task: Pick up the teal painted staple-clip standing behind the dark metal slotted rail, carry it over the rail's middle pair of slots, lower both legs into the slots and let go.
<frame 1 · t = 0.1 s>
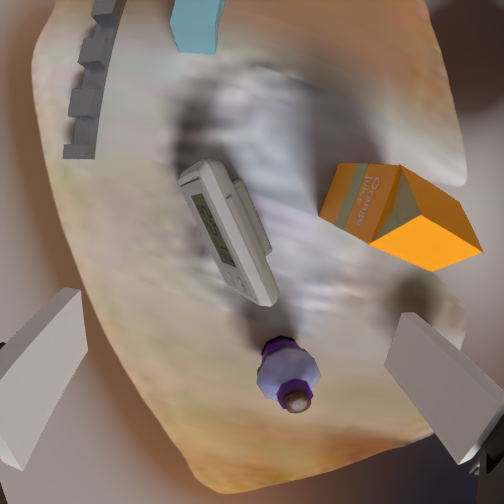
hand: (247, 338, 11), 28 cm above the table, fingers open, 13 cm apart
orange juice: (355, 201, 39), on the table
clip: (203, 24, 31), on the table
potion bottle: (279, 350, 44), on the table
digital clock: (223, 223, 39), on the table
rail: (100, 57, 30), on the table
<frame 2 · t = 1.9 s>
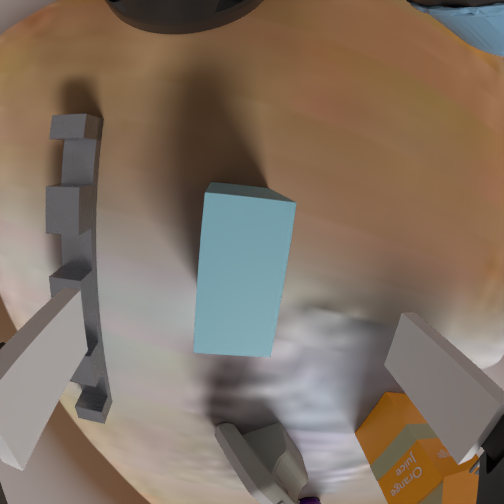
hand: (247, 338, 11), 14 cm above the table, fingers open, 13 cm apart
orange juice: (393, 413, 33), on the table
clip: (233, 241, 25), on the table
potion bottle: (304, 502, 39), on the table
digital clock: (260, 449, 33), on the table
rail: (82, 283, 24), on the table
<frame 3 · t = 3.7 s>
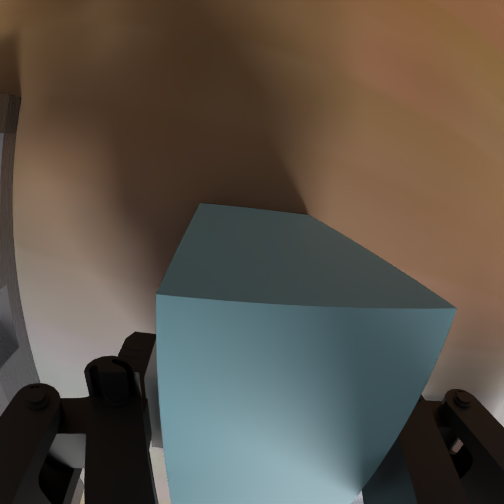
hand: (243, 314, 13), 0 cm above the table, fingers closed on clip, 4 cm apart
clip: (243, 310, 14), on the table, touching gripper
rail: (15, 357, 13), on the table
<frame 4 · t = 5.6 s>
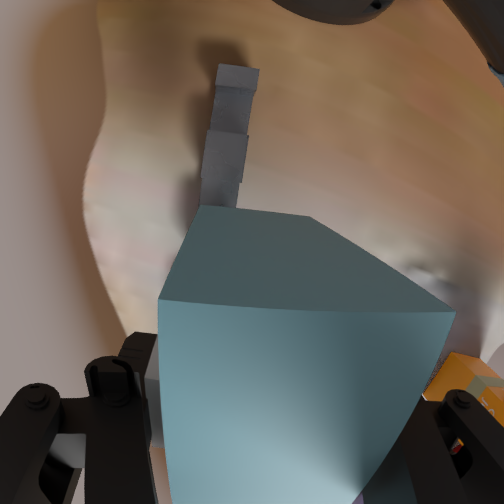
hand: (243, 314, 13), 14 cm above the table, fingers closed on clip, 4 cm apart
orange juice: (452, 375, 36), on the table
clip: (243, 311, 14), point 14 cm above the table, touching gripper
rail: (213, 238, 27), on the table
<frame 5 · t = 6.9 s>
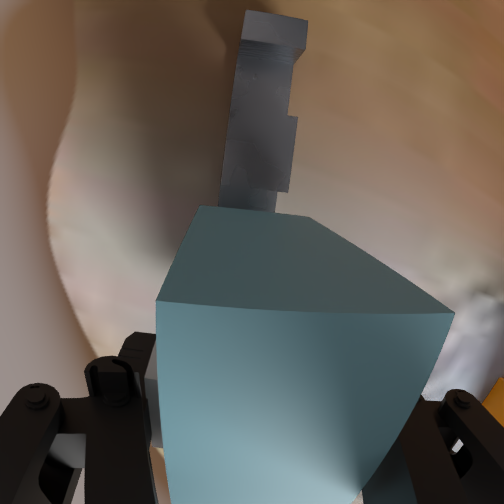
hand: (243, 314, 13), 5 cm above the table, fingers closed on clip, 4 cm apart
orange juice: (496, 400, 27), on the table
clip: (242, 311, 14), point 5 cm above the table, touching gripper
rail: (237, 274, 18), on the table
when the fingers open (2 cm above the table, at t = 7.7 s): clip stays where it is, resting on rail.
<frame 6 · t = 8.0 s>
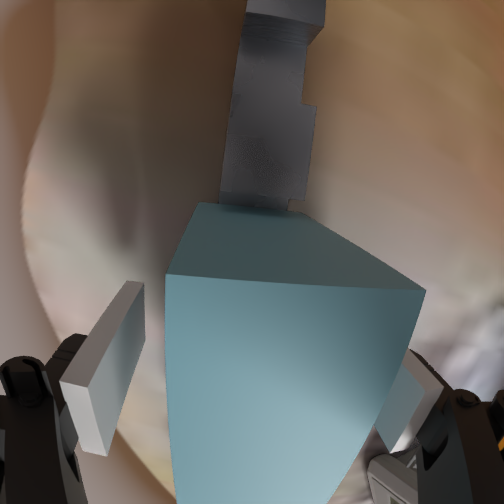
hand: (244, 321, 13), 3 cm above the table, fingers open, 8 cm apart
clip: (239, 302, 14), point 1 cm above the table, touching rail
digital clock: (392, 475, 24), on the table
rail: (239, 294, 15), on the table
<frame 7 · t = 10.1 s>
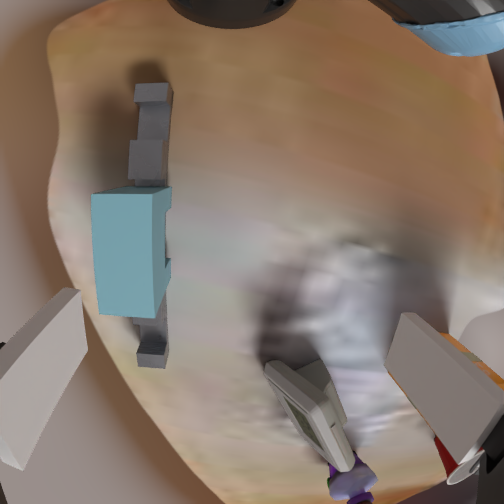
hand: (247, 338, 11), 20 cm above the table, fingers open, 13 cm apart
orange juice: (419, 352, 39), on the table
clip: (148, 232, 29), point 1 cm above the table, touching rail
potion bottle: (342, 459, 44), on the table
digital clock: (301, 392, 38), on the table
plastic cup: (443, 433, 47), on the table
rail: (151, 230, 30), on the table
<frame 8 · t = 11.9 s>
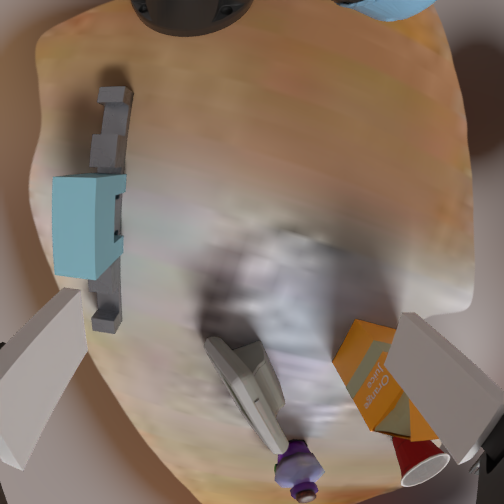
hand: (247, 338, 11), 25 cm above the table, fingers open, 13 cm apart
orange juice: (366, 345, 42), on the table
clip: (106, 212, 32), point 1 cm above the table, touching rail
potion bottle: (292, 447, 47), on the table
digital clock: (242, 372, 41), on the table
plastic cup: (402, 434, 51), on the table
rail: (109, 211, 33), on the table
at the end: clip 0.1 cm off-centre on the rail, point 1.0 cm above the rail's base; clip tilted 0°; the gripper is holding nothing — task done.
